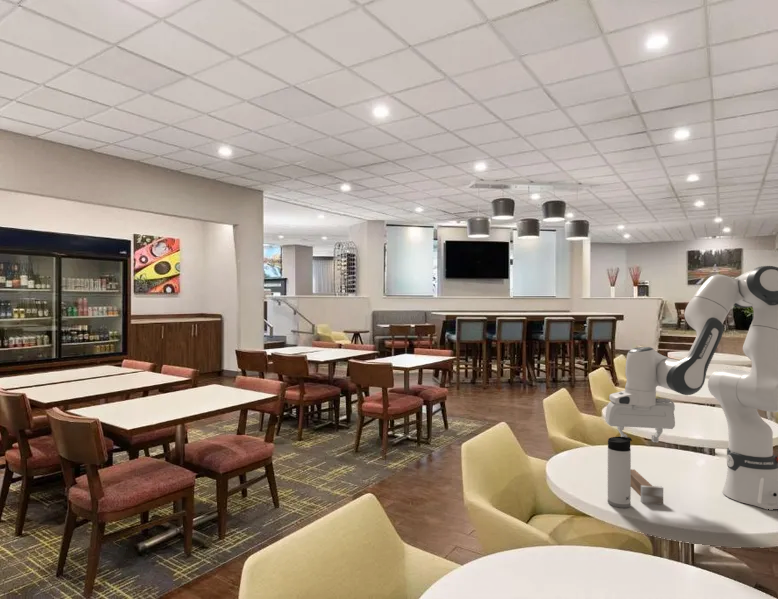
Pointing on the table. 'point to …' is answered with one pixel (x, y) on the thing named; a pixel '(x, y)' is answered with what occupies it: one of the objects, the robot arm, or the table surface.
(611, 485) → the travel mug
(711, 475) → the table surface
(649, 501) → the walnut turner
